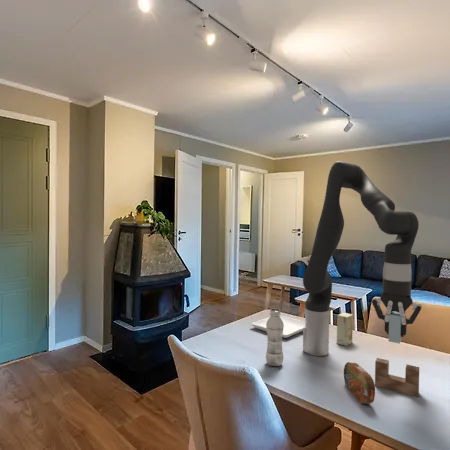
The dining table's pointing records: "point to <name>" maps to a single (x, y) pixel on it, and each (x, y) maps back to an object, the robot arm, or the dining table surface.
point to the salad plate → (289, 328)
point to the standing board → (397, 378)
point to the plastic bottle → (274, 338)
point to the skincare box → (344, 328)
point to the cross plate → (395, 327)
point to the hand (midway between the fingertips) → (395, 334)
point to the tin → (359, 383)
